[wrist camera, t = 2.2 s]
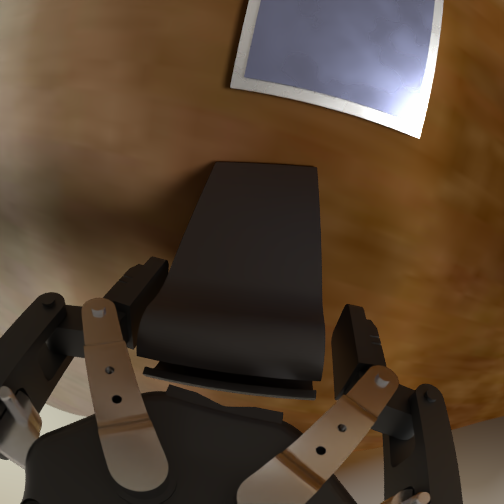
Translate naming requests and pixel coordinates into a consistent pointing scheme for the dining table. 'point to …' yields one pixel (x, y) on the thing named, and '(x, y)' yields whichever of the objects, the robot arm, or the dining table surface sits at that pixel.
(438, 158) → the dining table surface
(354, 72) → the ink pad
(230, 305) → the phone stand
